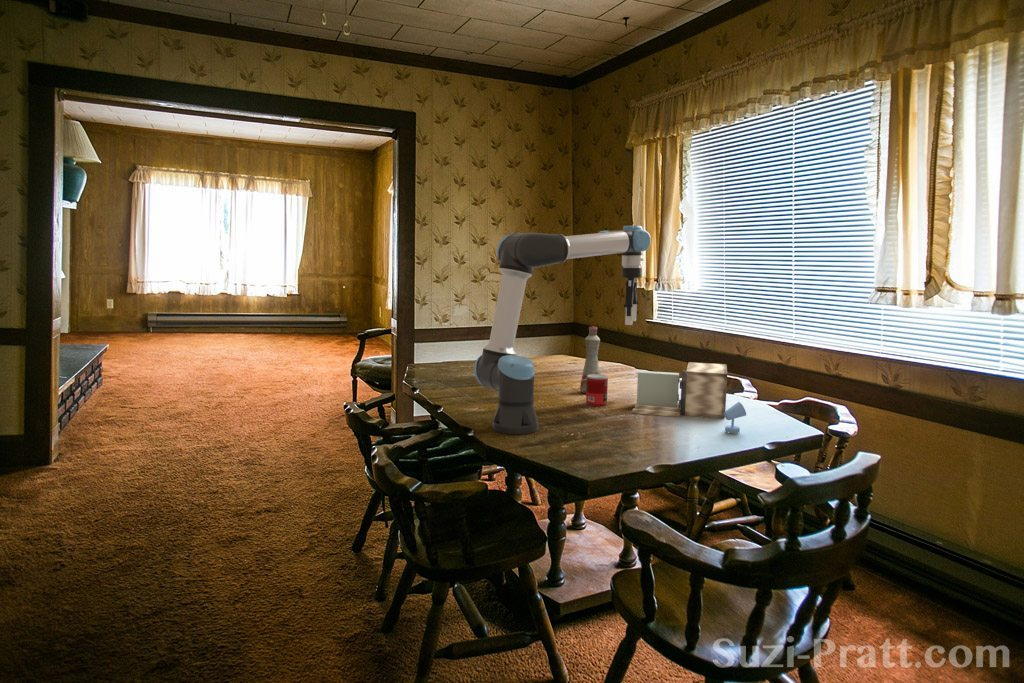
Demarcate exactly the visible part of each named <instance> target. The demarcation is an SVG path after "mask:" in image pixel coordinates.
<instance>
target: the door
mask: <svg viewBox="0 0 1024 683" xmlns="http://www.w3.org/2000/svg"><path fill="white" fill-rule="evenodd" d="M680 379H681V375H680V372H667V371H666V372H665V371H649V370H638V371H637V383H636V384H637V385H636V386H637V387H636V388H637V389H636V405H645V406H658V407H671V408H679V400H680V394H679V389H680V381H681V380H680Z"/></svg>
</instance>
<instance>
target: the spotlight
mask: <svg viewBox="0 0 1024 683" xmlns="http://www.w3.org/2000/svg"><path fill="white" fill-rule="evenodd" d="M724 416H725V419H726V420H727V421H731V425H725V426H724V432H725V431H726V432H729V433H728V434H730V433H738V432H739V433H740V431H741V430H740V429H741V428H740V426H737V425H735V419H738V418H742V417H745V416H747V412H746V409H745V407H744V405H743V404H742V403H741V402H740V401H738V402H736V403H735V404H733V405H732V406H731V407H729V408H728V409H727V410H726V409H725V412H724ZM726 432H725V433H726Z"/></svg>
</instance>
